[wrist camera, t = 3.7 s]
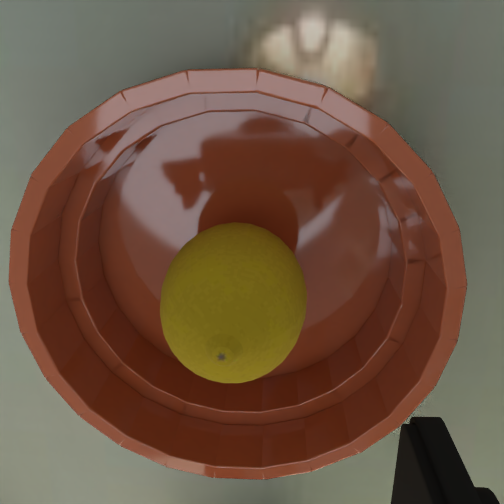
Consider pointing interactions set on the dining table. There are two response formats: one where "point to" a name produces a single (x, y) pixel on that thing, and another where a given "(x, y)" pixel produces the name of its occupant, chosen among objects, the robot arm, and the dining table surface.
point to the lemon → (233, 303)
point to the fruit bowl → (241, 211)
